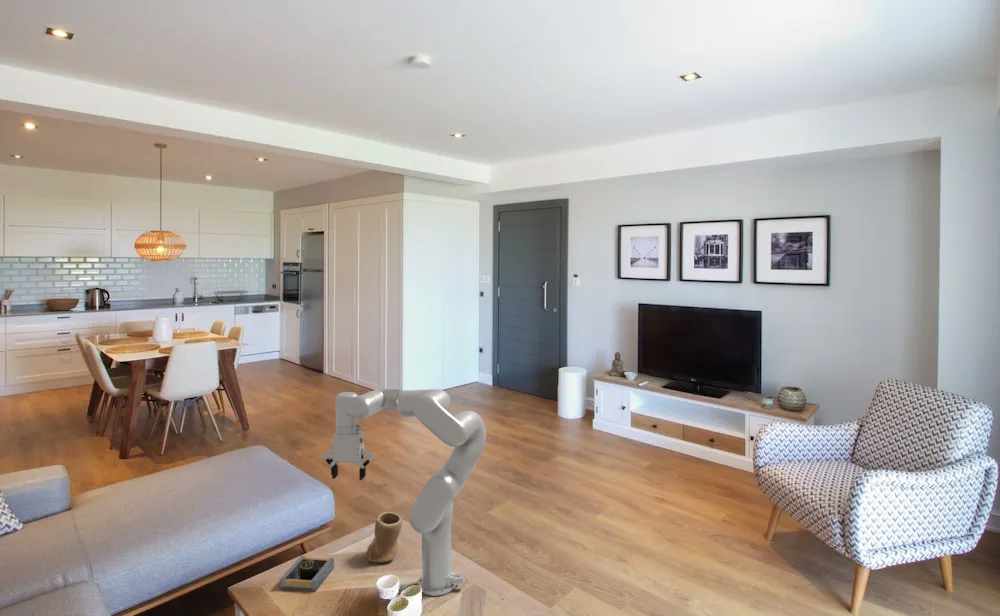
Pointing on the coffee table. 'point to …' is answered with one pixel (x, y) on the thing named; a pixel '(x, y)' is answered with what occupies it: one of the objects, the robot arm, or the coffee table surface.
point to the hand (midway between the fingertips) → (348, 477)
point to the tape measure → (308, 569)
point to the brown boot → (385, 537)
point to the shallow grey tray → (295, 582)
